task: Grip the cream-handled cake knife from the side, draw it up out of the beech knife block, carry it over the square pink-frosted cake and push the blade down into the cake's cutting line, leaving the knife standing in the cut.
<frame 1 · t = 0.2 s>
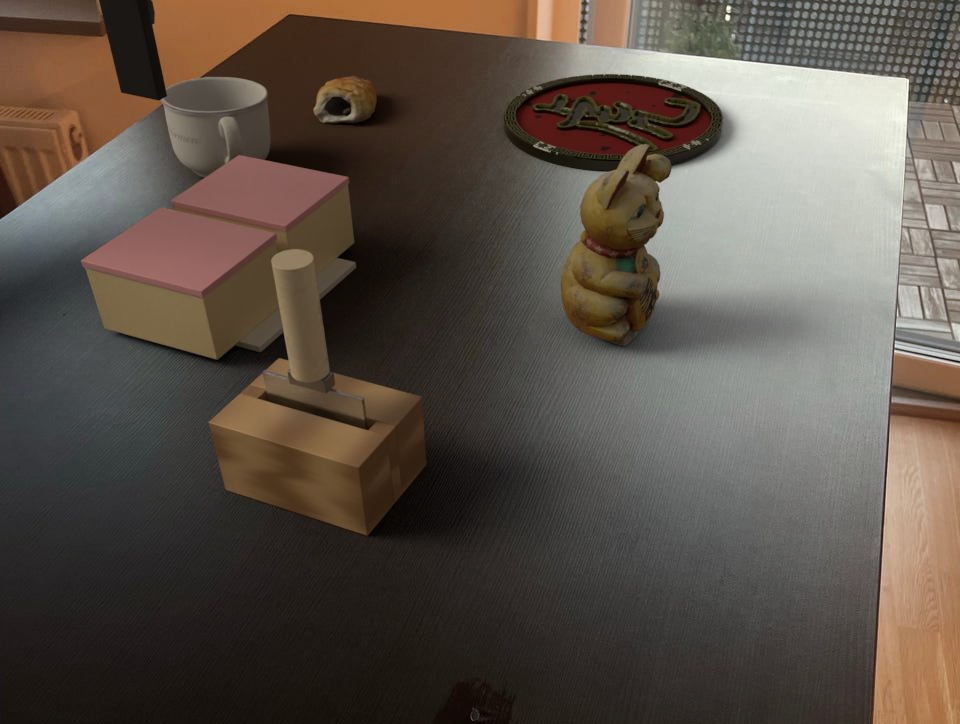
hand: (63, 139, 55), 26 cm above the table, tool pointing down, fingers open, 13 cm apart
knife block: (327, 477, 76), on the table
pastry: (348, 114, 123), on the table
decorative figurine: (604, 327, 90), on the table
teacup: (229, 176, 111), on the table
cake: (237, 289, 95), on the table
decorative plate: (611, 126, 119), on the table
knife: (311, 378, 70), in the knife block
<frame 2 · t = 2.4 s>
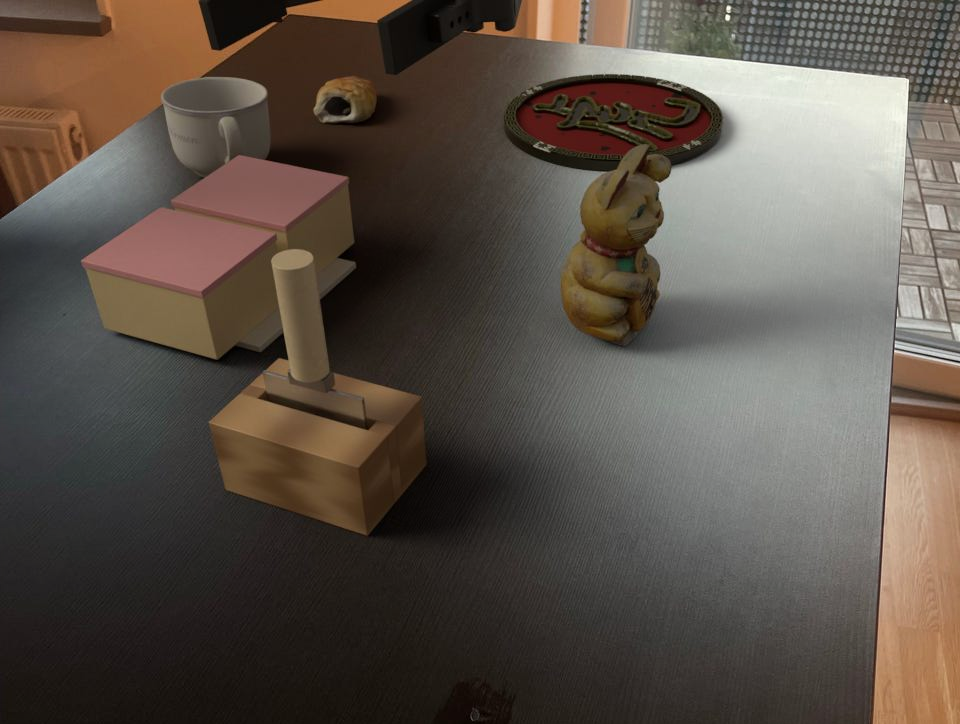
hand: (293, 36, 60), 27 cm above the table, tool horizontal, fingers open, 13 cm apart
nothing on the table moved.
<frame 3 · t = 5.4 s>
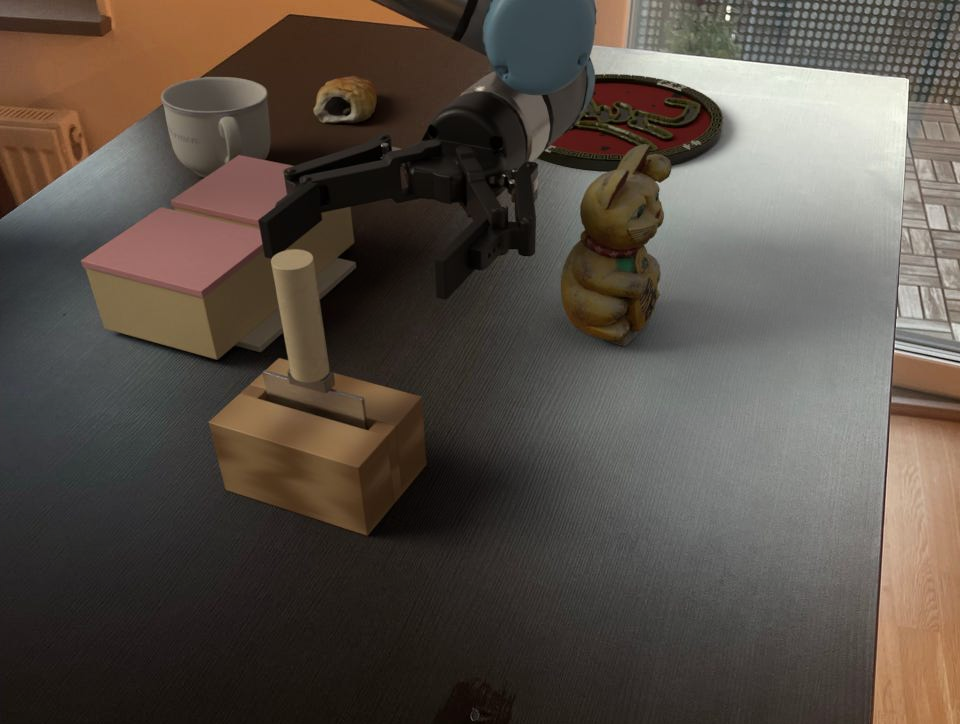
hand: (350, 259, 69), 14 cm above the table, tool horizontal, fingers open, 13 cm apart
nothing on the table moved.
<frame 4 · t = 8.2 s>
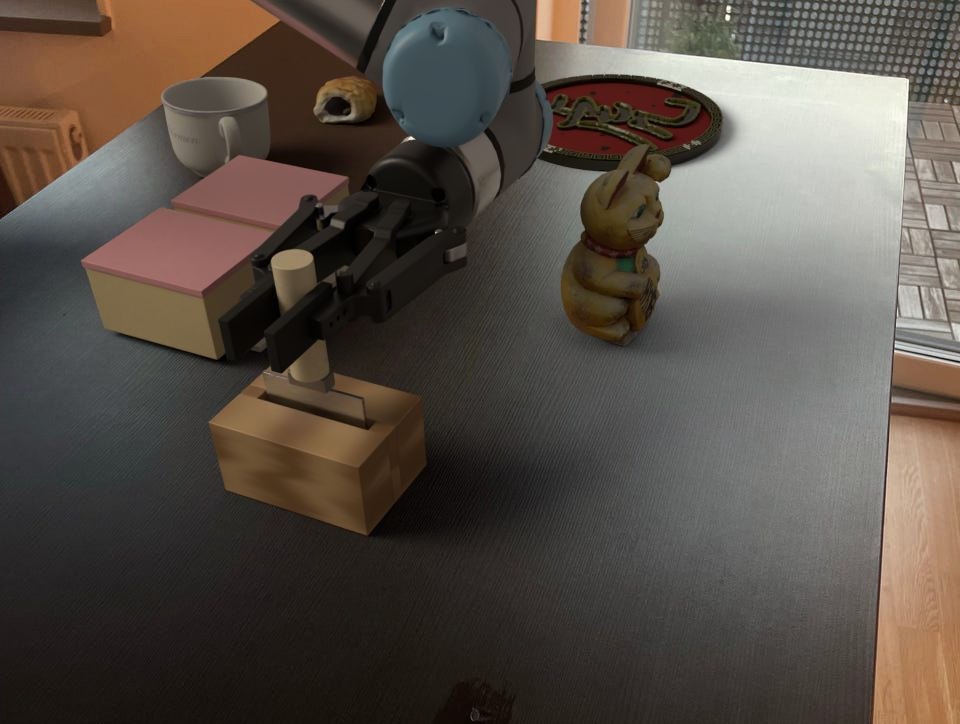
hand: (250, 346, 62), 14 cm above the table, tool horizontal, fingers closed on knife, 3 cm apart
knife: (311, 378, 70), in the knife block, touching gripper
everything else where it was.
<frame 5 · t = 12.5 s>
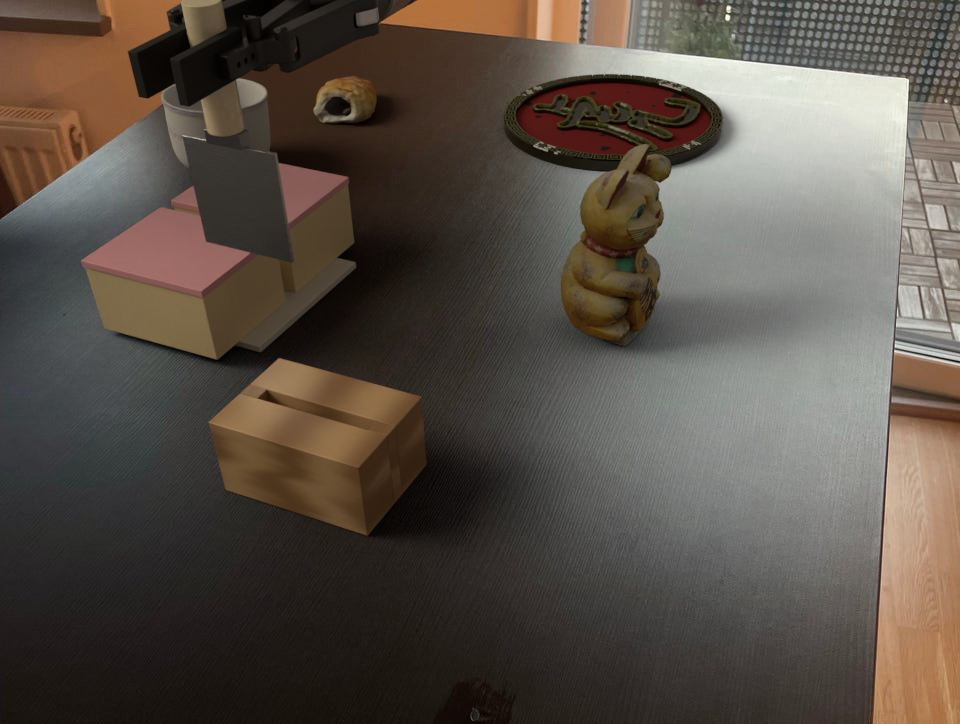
hand: (159, 78, 65), 24 cm above the table, tool horizontal, fingers closed on knife, 3 cm apart
knife: (227, 136, 73), point 18 cm above the table, touching gripper
everything else where it was.
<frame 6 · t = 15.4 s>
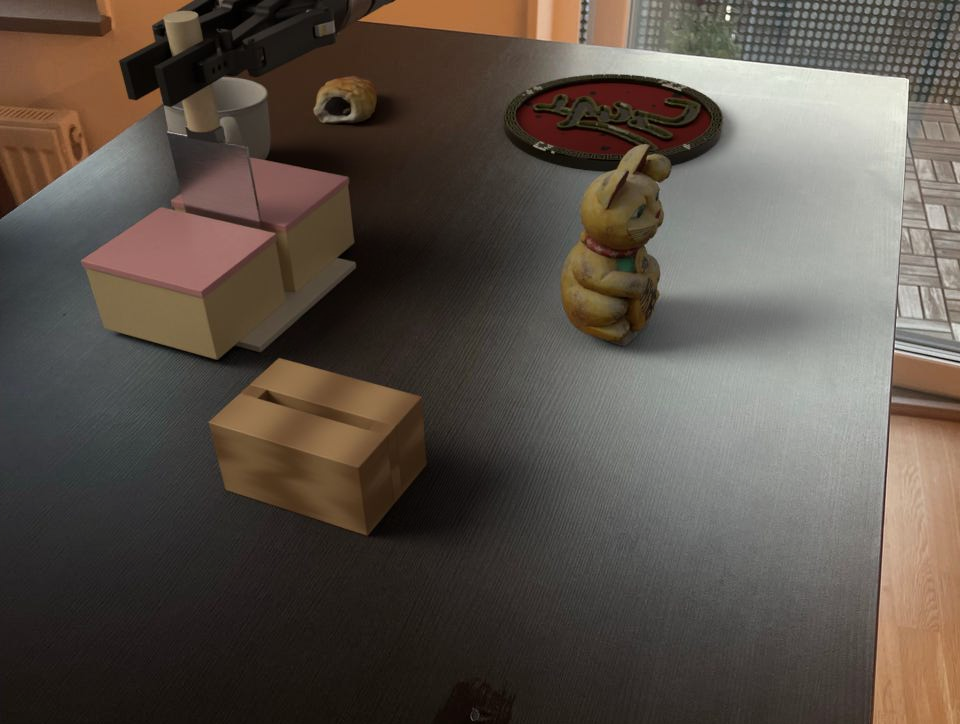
hand: (145, 83, 77), 19 cm above the table, tool horizontal, fingers closed on knife, 3 cm apart
knife: (205, 132, 84), point 14 cm above the table, touching gripper
everything else where it was.
when the fingers open (15 cm above the table, at t = 16.9 s): knife stays where it is, resting on cake.
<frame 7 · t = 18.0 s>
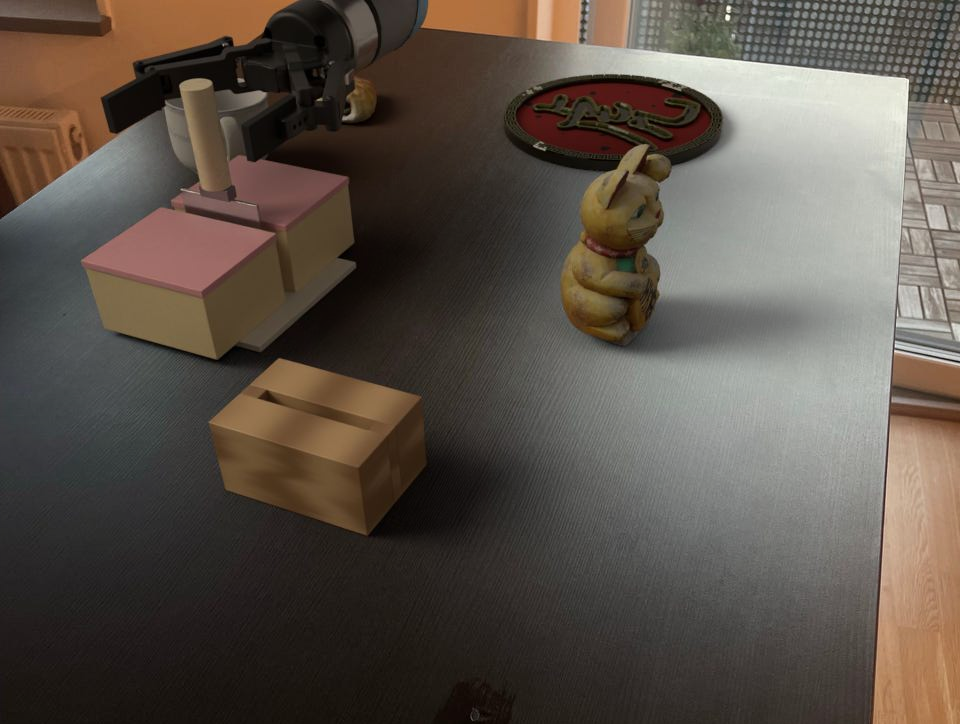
hand: (176, 129, 81), 15 cm above the table, tool horizontal, fingers open, 13 cm apart
knife: (217, 190, 88), point 9 cm above the table, touching cake
everything else where it was.
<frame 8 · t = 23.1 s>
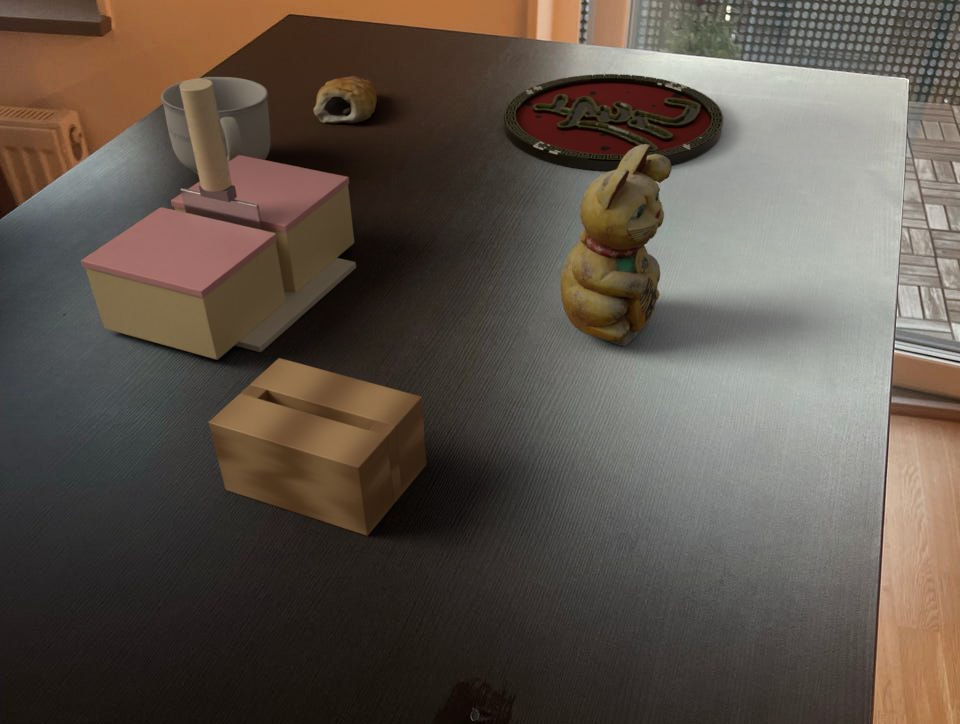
nothing on the table moved.
at the end: knife 0.1 cm off-centre on the cake, point 9.1 cm above the cake's base; knife tilted 0°; the gripper is holding nothing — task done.
